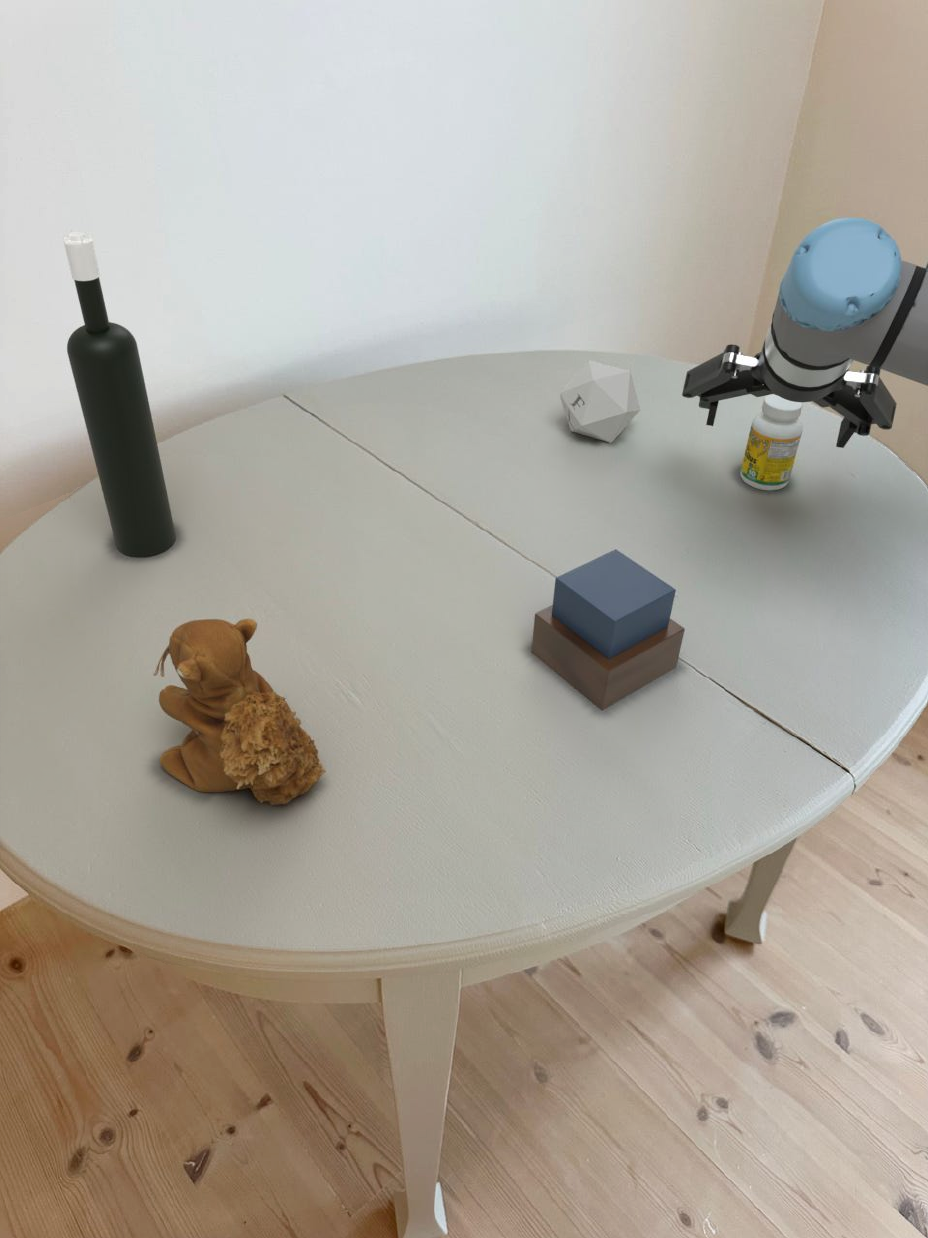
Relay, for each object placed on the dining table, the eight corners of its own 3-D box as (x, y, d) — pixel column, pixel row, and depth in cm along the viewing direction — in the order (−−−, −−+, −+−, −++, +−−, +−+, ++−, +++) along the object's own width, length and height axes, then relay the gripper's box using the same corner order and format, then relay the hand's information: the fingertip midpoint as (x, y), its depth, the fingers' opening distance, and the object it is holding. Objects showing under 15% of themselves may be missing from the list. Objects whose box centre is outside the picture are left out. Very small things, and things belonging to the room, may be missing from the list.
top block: (668, 626, 80) (676, 589, 78) (608, 659, 77) (615, 621, 75) (610, 585, 85) (616, 548, 82) (551, 615, 81) (555, 577, 79)
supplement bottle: (793, 492, 106) (815, 414, 100) (744, 491, 106) (764, 412, 100) (781, 467, 110) (801, 390, 104) (734, 466, 110) (752, 389, 104)
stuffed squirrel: (251, 691, 80) (230, 564, 71) (364, 783, 72) (355, 654, 64) (145, 754, 74) (109, 624, 66) (256, 862, 67) (231, 731, 58)
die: (558, 416, 120) (541, 375, 110) (619, 377, 119) (607, 332, 109) (592, 467, 116) (578, 428, 107) (656, 426, 115) (647, 384, 106)
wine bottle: (131, 565, 93) (55, 251, 73) (106, 538, 96) (27, 231, 77) (186, 544, 95) (126, 237, 76) (160, 518, 99) (96, 218, 80)
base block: (676, 667, 83) (685, 628, 80) (601, 711, 79) (608, 671, 76) (604, 614, 89) (610, 575, 86) (530, 652, 84) (534, 613, 81)
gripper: (973, 326, 79) (905, 409, 100) (672, 284, 84) (667, 372, 105) (956, 412, 79) (891, 478, 99) (654, 365, 84) (652, 437, 105)
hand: (776, 424), depth 102 cm, fingers open, 13 cm apart
